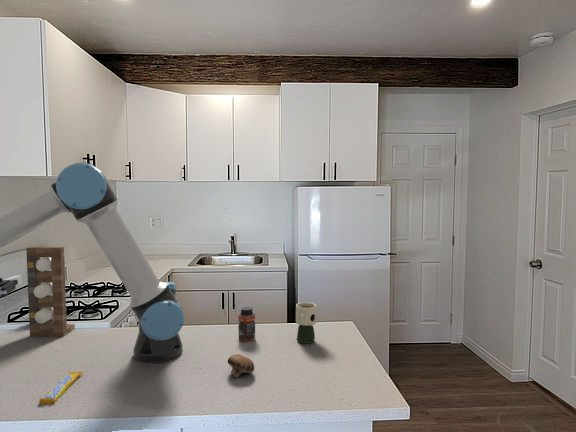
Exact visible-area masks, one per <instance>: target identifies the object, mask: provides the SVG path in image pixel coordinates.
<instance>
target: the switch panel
mask: <svg viewBox="0 0 576 432" xmlns="http://www.w3.org/2000/svg"><path fill="white" fill-rule="evenodd" d="M25 250H26V251H25V253H26V273H27V295H28V296H27V299H28V302H27V303H28V321H29V322H28V323H29V337H32V338H33V337H35V338H37V337H41V338H45V337H49V338H50V337H57V338H58V337H63V338H64V337H65V336H67V335H68V334H69V333H71V332H73V331H74V330H76V329H75V328H76V327H75V325H76V324H75V323H68V322H67V318H68V317H67V298H66V297H67V296H66V291H67V289H66V267H65V266H66V265H65V247H64V246H29V247H26V249H25ZM46 257H51V267H52V269H51V270H46V271H43V272H41V271H39V270H38V269H37V268H36V262H37V261H38V260H40V259H41V258H46ZM44 283H52V294H53V295H47V296H45V297H43V298H37V297H36V296H35V295H34V289H35V287H37V286H39V285H42V284H44ZM42 308H53V320H48V321H46V322H45V323H38V322H37V321H36V320H35V314H36V313H37V312H39V311H41V310H42Z"/></svg>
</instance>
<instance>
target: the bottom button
mask: <svg viewBox="0 0 576 432" xmlns="http://www.w3.org/2000/svg"><path fill="white" fill-rule="evenodd" d="M52 318H53V308H44V309H42V310H41V311H39V312H37V313H36V314H35V320H36V321H37V322H38V323H45V322H46V321H48V320H50V319H52Z"/></svg>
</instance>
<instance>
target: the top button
mask: <svg viewBox="0 0 576 432" xmlns="http://www.w3.org/2000/svg"><path fill="white" fill-rule="evenodd" d="M36 268H37V269H38V270H39V271H41V272H43V271H50V270H52V267H51V257H42V258H40V260H38V261H37V262H36Z"/></svg>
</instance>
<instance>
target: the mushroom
mask: <svg viewBox="0 0 576 432" xmlns="http://www.w3.org/2000/svg"><path fill="white" fill-rule="evenodd" d="M227 364H228V365H229V366H230V367H231V368H232V369H231V371H230V373H231V374H232V376H234V377H235V378H237V379H238V378H239V377H240V376H241V374H243V373H248V374H252V373H253V372H255V364H254V362H253V360H252V359H251V358H250V357H248V356H245V355H243V354H239V353H236V354H235V353H234V354H231V355H230V356H229V357H228V359H227Z"/></svg>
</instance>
